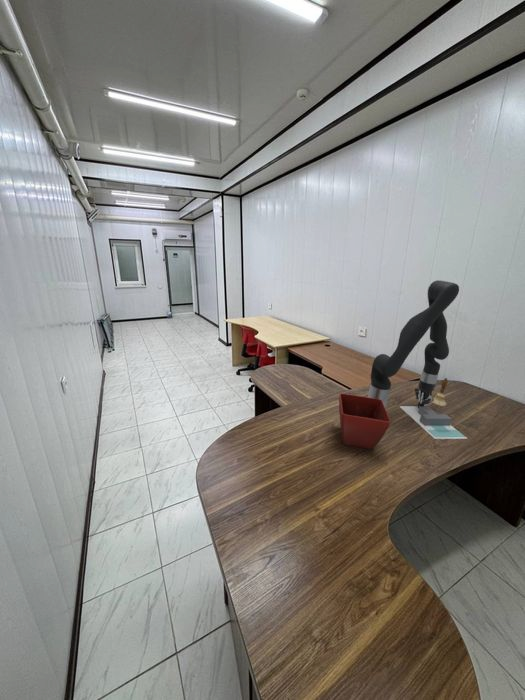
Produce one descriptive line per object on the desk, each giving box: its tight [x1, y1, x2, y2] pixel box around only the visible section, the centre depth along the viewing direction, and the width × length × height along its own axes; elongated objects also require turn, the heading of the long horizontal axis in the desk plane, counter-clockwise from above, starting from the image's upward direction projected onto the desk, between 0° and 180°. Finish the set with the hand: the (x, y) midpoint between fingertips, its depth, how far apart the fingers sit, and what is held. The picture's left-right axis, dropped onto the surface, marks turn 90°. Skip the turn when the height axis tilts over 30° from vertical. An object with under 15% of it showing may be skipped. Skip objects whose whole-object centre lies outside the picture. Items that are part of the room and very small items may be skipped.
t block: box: [418, 405, 453, 426], centre depth 144 cm, size 14×12×4 cm
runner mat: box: [399, 405, 468, 440], centre depth 143 cm, size 17×29×1 cm, turn 6°
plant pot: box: [338, 392, 392, 450], centre depth 122 cm, size 19×19×17 cm
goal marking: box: [428, 426, 466, 437], centre depth 137 cm, size 16×14×1 cm
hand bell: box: [431, 377, 448, 407], centre depth 161 cm, size 8×8×16 cm
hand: (419, 408), depth 152 cm, fingers closed
